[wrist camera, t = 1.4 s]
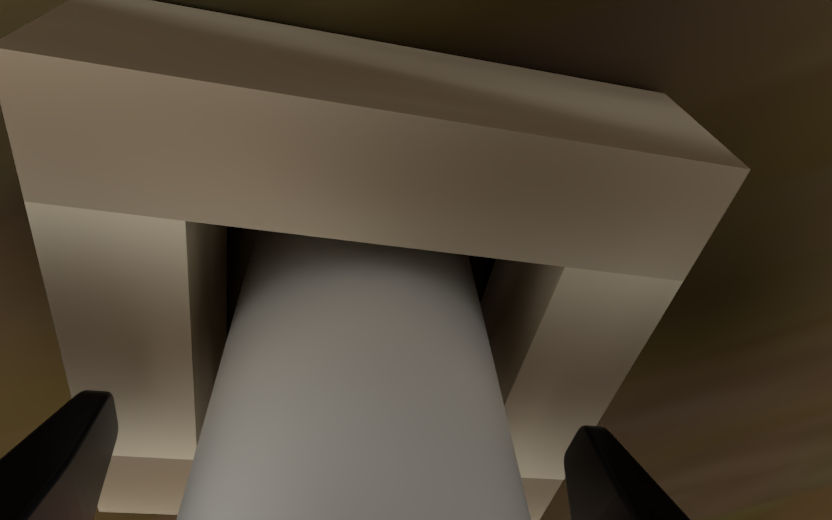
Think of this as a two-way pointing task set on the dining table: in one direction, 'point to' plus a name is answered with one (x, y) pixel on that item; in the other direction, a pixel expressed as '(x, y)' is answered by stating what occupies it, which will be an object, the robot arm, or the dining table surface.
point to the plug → (355, 392)
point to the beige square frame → (339, 207)
